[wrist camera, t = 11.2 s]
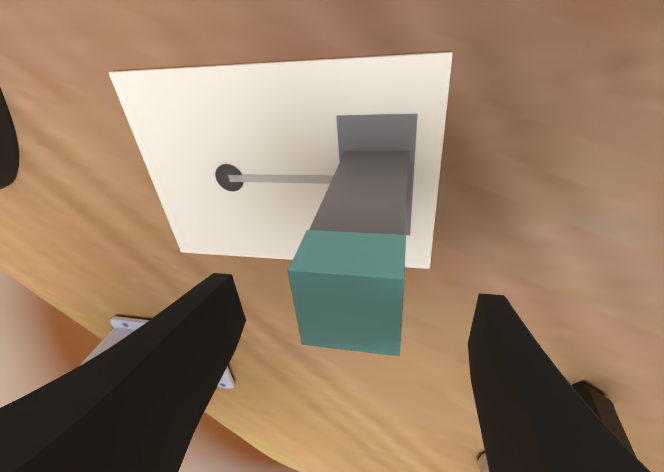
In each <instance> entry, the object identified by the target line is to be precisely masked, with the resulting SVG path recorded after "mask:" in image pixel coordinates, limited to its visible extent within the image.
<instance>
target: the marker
mask: <svg viewBox="0 0 664 472" xmlns="http://www.w3.org/2000/svg"><path fill="white" fill-rule="evenodd" d="M408 156H409V151H345V152H344V154H343V156H342V159H341V161H340V163H339V165H338V167H337V170H336V172H335V174H334V176H333V178H332V181H331V183H330V185H329V187H328V189H327V191H326V194H325V196H324V198H323V200H322V202H321V205H320V207H319V209H318V211H317V213H316V216H315V218H314V220H313V222H312V224H311V227H310V229H309V230H306V232H305V235H304V237H303V239H302V241H301V243H300V245H299V248H298V250H297V252H296V254H295V256H294V258H293V260H292V263H291V265H290V267H289V269H288V275H289V280H290V285H291V290H292V296H293V301H294V306H295V311H296V317H297V322H298V327H299V332H300V338H301V343H302V345H310V346H318V347H327V348H335V349H343V350H351V351H360V352H368V353H376V354H385V355H393V356H400V344H401V327H402V310H403V293H404V275H405V252H406V235H405V216H406V196H407V176H408Z"/></svg>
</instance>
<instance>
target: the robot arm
mask: <svg viewBox="0 0 664 472" xmlns="http://www.w3.org/2000/svg"><path fill="white" fill-rule="evenodd" d="M245 322H246V318H245V315H244V312H243V309H242V306H241V302H240V299H239V296H238V293H237V290H236V286H235V283H234V280H233V277H232V274H219V273H213V274H212V275H211V276H209V277H208V278H206V279H205V280H203V281H202V282H201V283H199V284H198V285H197V286H195V287H194V288H192V289H191V290H190V291H188V292H187V293H186V294H184V295H183V296H182V297H181V298H179V299H178V300H177V301H175V302H174V303H172V304H171V305H170V306H168V307H167V308H166V309H164V310H163V311H162V312H160V313H159V314H158V315H156V316H155V317H154V318H152V319H151V320H142V319H134V318H125V317H113V318H112V319H111V320H110V323H111V324H112V326H113V329H112V330H111V331H110V332H109V333H108V335H107V336H106V337H105V338H104V339H103V340H102V341H101V342H100V343H99V345H98V346H97V347H96V348H95V349H94V350H93V351H92V352H91V353H90V354H89V356H88V357H87V358H86V359H85V360H84V361H83V362H82V363H81V365H80V366H79V367H77V368H75V369H74V370H72V371H70V372H68V373H67V374H65V375H63V376H61V377H59V378H57V379H56V380H54V381H52V382H50V383H48V384H46V385H44V386H42V387H40V388H39V389H37V390H35V391H33V392H31V393H29V394H27V395H26V396H24V397H22V398H20V399H18V400H16V401H14V402H12V403H10V404H7V405H5V406H4V407H1V408H0V472H178V471H179V468H180V466H181V464H182V461H183V459H184V456H185V453H186V451H187V449H188V446H189V443H190V441H191V439H192V436H193V433H194V432H195V429H196V427H197V425H198V423H199V421H200V419H201V417H202V415H203V413H204V411H205V409H206V407H207V405H208V403H209V401H210V399H211V397H212V395H213V393H214V391H215V390H216V388H217V387H222V388H228V389H231V388H233V387H234V384H235V383H234V381H233V378H232V376H231V373H230V371H229V368H228V364H229V362H230V360H231V358H232V356H233V354H234V352H235V350H236V347H237V345H238V342H239V339H240V337H241V334H242V331H243V328H244V325H245ZM468 352H469V365H470V375H471V383H472V388H473V393H474V398H475V403H476V409H477V414H478V418H479V423H480V428H481V433H482V438H483V443H484V448H485V453H486V458H487V463H488V468H489V472H650V471H649V470H648V469H647V468H646V467H645V466H644V465H643V464H642V463H641V462H640V461H639V460H638V459H637V458H636V457H635V456H634V455H633V454H632V453H631V452H630V451H629V450H628V449H627V447H626V446H625V445H624V444H623V443H622V442H621V441H620V440H619V439H618V438H617V437H616V436H615V435H614V434H613V433H612V432H611V431H610V429H609V428H608V427H607V426H606V425H605V424H604V423H603V422H602V421H601V420H600V418H599V417H598V416H597V415H596V414H595V413H594V412H593V411H592V409H591V408H590V407H589V406H588V405H587V404H586V402H585V401H584V400H583V399H582V398H581V397H580V395H579V394H578V393H577V392H576V391H575V390H574V388H573V387H572V386H571V385H570V383H569V382H568V381H567V380H566V379H565V377H564V376H563V375H562V374H561V372H560V371H559V370H558V368H557V367H556V366H555V365H554V363H553V362H552V361H551V360H550V358H549V357H548V356H547V354H546V353H545V352H544V351H543V349H542V348H541V347H540V345H539V344H538V342H537V341H536V340H535V338H534V337H533V336H532V334H531V333H530V331H529V330H528V329H527V327H526V326H525V324H524V323H523V322H522V320H521V319H520V317H519V316H518V314H517V313H516V311H515V310H514V309H513V307H512V306H511V304H510V303H509V301H508V300H507V298H506V297H505V296H504V295H492V294H479V296H478V300H477V305H476V309H475V314H474V318H473V323H472V327H471V332H470V336H469V341H468Z"/></svg>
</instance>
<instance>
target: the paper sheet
mask: <svg viewBox="0 0 664 472" xmlns="http://www.w3.org/2000/svg"><path fill="white" fill-rule="evenodd" d="M452 54H453V53H452V52H439V53H422V54H405V55H387V56H370V57H353V58H336V59H319V60H301V61H284V62H267V63H250V64H233V65H215V66H198V67H181V68H164V69H147V70H129V71H113V72H109V75H110V77H111V80H112V82H113V85H114V87H115V90H116V92H117V95H118V97H119V100H120V102H121V105H122V107H123V110H124V112H125V115H126V117H127V119H128V122H129V124H130V127H131V129H132V132H133V134H134V137H135V139H136V142H137V144H138V147H139V149H140V152H141V154H142V157H143V159H144V161H145V164H146V166H147V169H148V171H149V174H150V176H151V179H152V181H153V184H154V186H155V189H156V191H157V194H158V196H159V199H160V201H161V204H162V206H163V208H164V211H165V213H166V216H167V218H168V221H169V223H170V226H171V228H172V231H173V233H174V236H175V238H176V241H177V243H178V246H179V248H180V251H181V252H184V253H199V254H214V255H229V256H244V257H259V258H274V259H289V260H293V258H294V256H295V254H296V252H297V250H298V248H299V245H300V243H301V241H302V239H303V237H304V235H305V232H306V230H309V229H310V227H311V224H312V222H313V220H314V218H315V216H316V213H317V211H318V209H319V207H320V205H321V202H322V200H323V198H324V196H325V194H326V191H327V189H328V187H329V185H330V183H331V181H332V178H333V176H334V174H335V172H336V170H337V167H338V165H339V163H340V161H341V159H342V156H343V154H344V152H345V151H409V156H408V176H407V196H406V216H405V235H406V252H405V267H410V268H425V269H430V260H431V251H432V242H433V232H434V223H435V213H436V204H437V195H438V185H439V176H440V167H441V157H442V148H443V138H444V129H445V120H446V110H447V101H448V92H449V82H450V73H451V63H452Z"/></svg>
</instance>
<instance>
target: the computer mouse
mask: <svg viewBox="0 0 664 472" xmlns="http://www.w3.org/2000/svg"><path fill="white" fill-rule="evenodd" d="M18 166H19V149H18V141H17V136H16V132H15V128H14V124H13V121H12V118H11V115H10V112H9V110H8V107H7V104H6V102H5V99H4V96H3V94H2V91H1V88H0V189H2V188H4V187H6V186H8V185H10V184H11V183H12V182H13V181H14V179H15V178H16V175H17V171H18Z"/></svg>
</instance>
